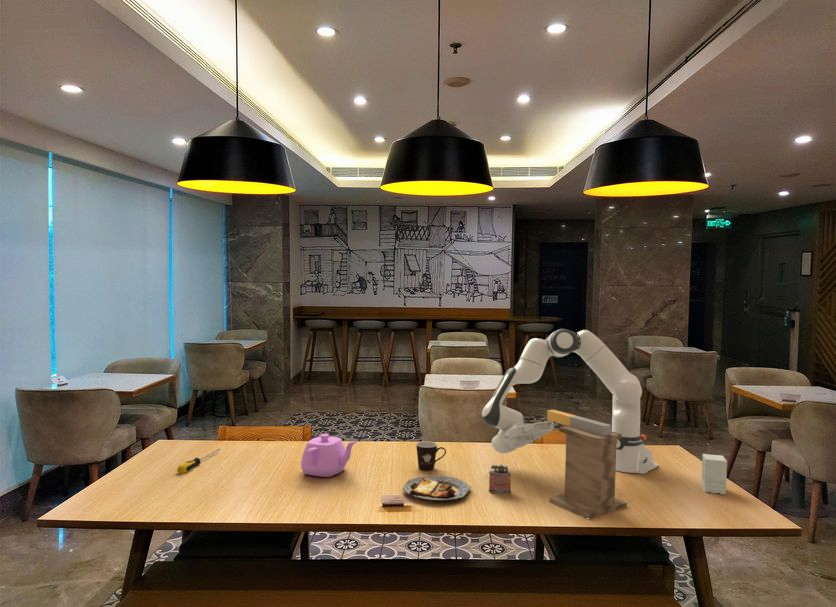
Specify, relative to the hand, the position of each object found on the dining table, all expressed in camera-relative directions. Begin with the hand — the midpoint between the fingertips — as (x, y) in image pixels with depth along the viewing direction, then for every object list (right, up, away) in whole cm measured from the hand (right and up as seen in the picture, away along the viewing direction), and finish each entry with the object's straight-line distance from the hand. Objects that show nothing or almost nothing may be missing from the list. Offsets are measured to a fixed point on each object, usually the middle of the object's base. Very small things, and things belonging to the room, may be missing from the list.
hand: (543, 423), depth 214 cm
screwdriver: (-138, -21, +21) cm, 141 cm away
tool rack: (+12, -24, -18) cm, 32 cm away
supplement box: (+64, -25, -2) cm, 68 cm away
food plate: (-41, -24, -8) cm, 48 cm away
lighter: (-18, -24, -7) cm, 30 cm away
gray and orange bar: (+9, +2, -14) cm, 17 cm away
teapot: (-85, -22, +11) cm, 88 cm away
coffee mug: (-43, -22, +17) cm, 51 cm away
